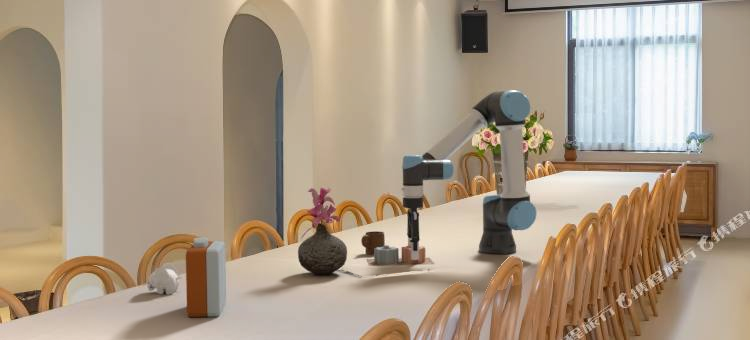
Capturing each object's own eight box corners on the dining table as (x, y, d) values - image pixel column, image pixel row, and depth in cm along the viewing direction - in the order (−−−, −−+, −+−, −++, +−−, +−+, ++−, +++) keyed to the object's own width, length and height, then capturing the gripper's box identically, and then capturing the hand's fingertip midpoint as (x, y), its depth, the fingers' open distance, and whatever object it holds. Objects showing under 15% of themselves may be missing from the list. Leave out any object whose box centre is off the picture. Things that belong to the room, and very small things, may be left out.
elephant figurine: (148, 289, 252) (148, 262, 252) (186, 289, 252) (185, 261, 252) (139, 296, 243) (138, 267, 242) (177, 295, 243) (177, 267, 242)
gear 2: (423, 258, 299) (423, 245, 298) (426, 262, 290) (426, 249, 290) (400, 259, 298) (400, 245, 298) (403, 263, 290) (403, 249, 289)
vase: (353, 271, 281) (352, 187, 279) (335, 280, 264) (334, 191, 263) (310, 268, 286) (309, 186, 285) (289, 277, 270) (288, 190, 268)
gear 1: (391, 259, 299) (391, 245, 299) (402, 262, 291) (402, 249, 291) (370, 261, 295) (370, 247, 295) (381, 264, 287) (381, 250, 287)
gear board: (429, 260, 302) (429, 242, 301) (434, 267, 288) (434, 247, 287) (366, 262, 300) (366, 243, 299) (369, 268, 286) (368, 248, 285)
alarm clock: (196, 303, 232) (194, 233, 231) (226, 302, 233) (225, 233, 231) (186, 318, 213) (184, 243, 212) (219, 317, 214) (218, 242, 213)
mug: (370, 260, 305) (370, 235, 304) (354, 258, 309) (354, 234, 309) (388, 255, 314) (388, 232, 314) (373, 254, 319) (373, 230, 318)
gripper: (399, 194, 303) (400, 253, 304) (406, 199, 282) (406, 262, 283) (419, 194, 304) (419, 252, 305) (427, 199, 282) (427, 262, 284)
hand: (413, 257), depth 294 cm, fingers closed on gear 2, 9 cm apart
